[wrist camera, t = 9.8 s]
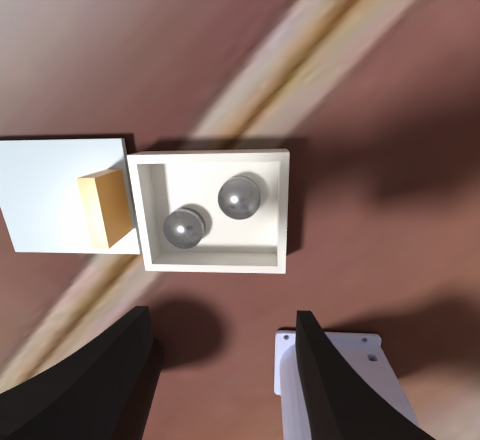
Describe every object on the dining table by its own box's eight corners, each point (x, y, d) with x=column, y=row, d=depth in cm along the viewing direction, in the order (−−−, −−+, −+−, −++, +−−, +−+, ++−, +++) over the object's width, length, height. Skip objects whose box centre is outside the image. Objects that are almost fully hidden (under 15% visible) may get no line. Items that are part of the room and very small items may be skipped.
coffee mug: (160, 312, 26) (102, 419, 17) (184, 378, 29) (146, 502, 19) (55, 326, 28) (-52, 430, 18) (87, 387, 31) (9, 504, 21)
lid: (129, 137, 21) (91, 142, 16) (146, 247, 24) (118, 276, 20) (-6, 140, 22) (-78, 145, 17) (27, 245, 25) (-26, 273, 20)
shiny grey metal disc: (265, 181, 20) (265, 184, 20) (254, 219, 22) (254, 224, 21) (224, 171, 20) (222, 173, 20) (216, 210, 22) (214, 214, 21)
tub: (286, 148, 20) (289, 152, 18) (282, 257, 23) (285, 273, 21) (142, 151, 21) (126, 155, 18) (157, 255, 24) (145, 270, 21)
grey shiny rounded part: (178, 199, 22) (174, 203, 21) (212, 221, 22) (209, 226, 21) (160, 229, 23) (156, 234, 22) (193, 250, 23) (190, 255, 22)
